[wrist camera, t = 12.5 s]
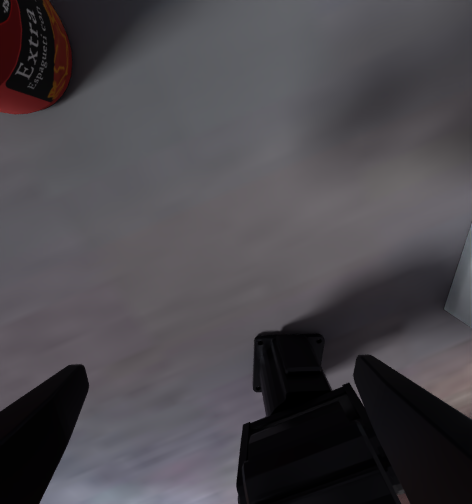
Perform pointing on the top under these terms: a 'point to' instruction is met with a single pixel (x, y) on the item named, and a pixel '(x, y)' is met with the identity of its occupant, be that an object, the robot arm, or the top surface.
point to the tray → (462, 286)
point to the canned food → (32, 56)
